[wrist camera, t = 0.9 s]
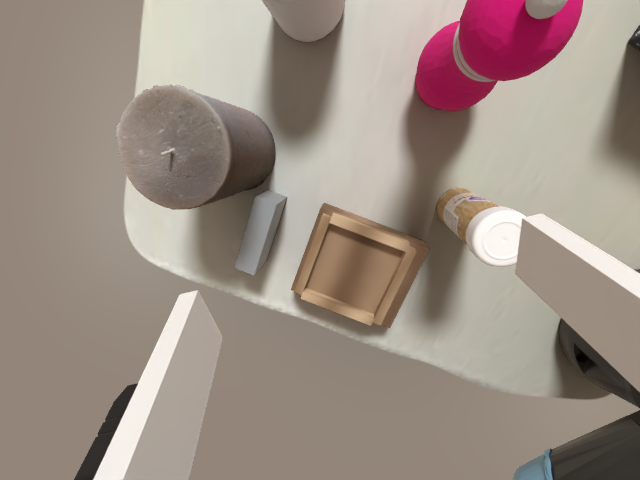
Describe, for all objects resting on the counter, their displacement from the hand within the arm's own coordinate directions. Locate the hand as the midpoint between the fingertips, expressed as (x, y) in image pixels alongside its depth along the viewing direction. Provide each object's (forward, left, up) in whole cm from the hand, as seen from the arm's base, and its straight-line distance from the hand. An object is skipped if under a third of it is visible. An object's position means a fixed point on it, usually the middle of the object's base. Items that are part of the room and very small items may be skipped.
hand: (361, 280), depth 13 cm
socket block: (-3, +8, -26) cm, 27 cm away
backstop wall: (+10, +8, -26) cm, 29 cm away
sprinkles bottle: (-11, -2, -26) cm, 28 cm away
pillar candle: (+16, +1, -26) cm, 31 cm away
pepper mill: (-4, -14, -26) cm, 30 cm away
